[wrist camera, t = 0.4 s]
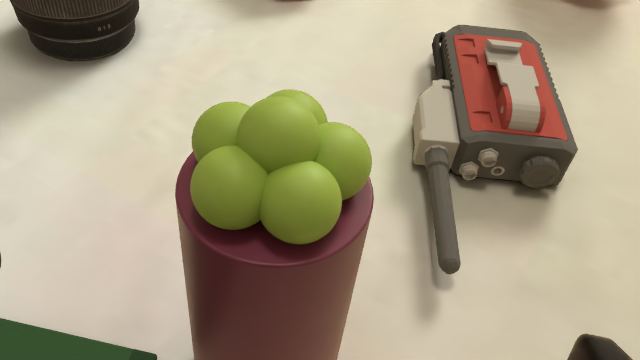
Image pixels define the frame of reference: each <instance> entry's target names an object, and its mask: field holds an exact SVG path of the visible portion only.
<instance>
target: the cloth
mask: <svg viewBox="0 0 640 360" xmlns="http://www.w3.org/2000/svg"><path fill="white" fill-rule="evenodd" d="M156 359H157V355H156V354H152V353H148V352H144V351H140V350H135V349H130V348H126V347H122V346H117V345H113V344H109V343H104V342H100V341H96V340H92V339H87V338H83V337H79V336H74V335H70V334H66V333H62V332H57V331H53V330H49V329H44V328H40V327H36V326H32V325H27V324H23V323H19V322H14V321H10V320H6V319H2V318H0V360H156Z"/></svg>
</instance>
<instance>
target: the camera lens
mask: <svg viewBox="0 0 640 360" xmlns="http://www.w3.org/2000/svg"><path fill="white" fill-rule="evenodd" d="M10 2H11V4H12V6H13V8H14V10H15V13H16V15H17V18H18V20H19V22H20V23H21V25H22V26H23V27H25V28H26V29H27V30H28V33H29V36H30V39H31V41H32V43H33V44H34V45H35V46H36V47H37V48H38V49H39V50H40V51H42V52H44V53H45V54H48V55H51V56H53V57H56V58H61V59H67V60H88V59H96V58H100V57H104V56H107V55H110V54H112V53H115V52H117V51H119V50H120V49H122V48H124V47H125V46H126V45H127V44H128V43H129V42H130V41H131V40H132V38H133V36H134V33H135V20H134V19H135V17H136V15H137V13H138V10H139V0H10Z"/></svg>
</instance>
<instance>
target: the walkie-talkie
mask: <svg viewBox="0 0 640 360" xmlns="http://www.w3.org/2000/svg"><path fill="white" fill-rule="evenodd" d="M439 43H441V46H440V45H439ZM432 49H433V56H434V63H435V70H436V79H435V80H432V84H431V87H429V88H428V89H427V90H426V91H424V92H423V93H422V94H421V95H420V96H419V98H418V100H417V104H416V108H415V112H414V116H413V129H414V141H415V148H414V152H413V158H414V163H415V164H418V165H425V168H426V173H427V174H428V175H429V182H430V191H431V200H432V209H433V218H434V227H435V236H436V245H437V254H438V263H439V266H440V268H441V269H442V270H443V271H444V272H445V273H447V274H453V273H455V272H457V271H458V270H459V268H460V257H459V249H458V242H457V235H456V227H455V220H454V213H453V205H452V198H451V191H450V183H449V176H448V173H449V170H450V168H451V170H452V171H453V172H455V173H456V174H457V175H462V177H463V178H464V179H466V180H472V179H475V178H476V177H486V178H496V179H505V180H515V181H521V182H522V183H523V184H524V185H527V186H529V187H531V188H540V187H544V186H548V185H550V184H555V185H558V184H559V182H560V181H561V180H562V178H563V176H564V174H565V172H566V170H567V169H568V167H569V165H570V163H571V161H572V160H573V158H574V156H575V154H576V152H577V150H578V149H577V146H576V143H575V141H574V138H573V135H572V132H571V130H570V127H569V124H568V121H567V118H566V116H565V113H564V110H563V107H562V104H561V102H560V100H559V99H558V94H557V93H556V89H555V88H554V83H553V82H552V78H551V77H550V75H551V74H550V72H549V71H548V70H549V68H548V67H547V66H546V65H547V63H546V62H545V58H544V57H543V53H542V52H541V50H542V49H541V48H540V44H539V43H538V42H536V41H535V40H534V39H533V38H532V37H531V36H529V35H528V34H527V33H526V32H522V31H515V30H506V29H497V28H487V27H478V26H469V25H458V26H455V27H453V28H451V29H450V30H449V31H447V32H446V33H444V32H441V33H438V34H436V35H435V37H434V39H433V43H432Z"/></svg>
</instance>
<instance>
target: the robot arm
mask: <svg viewBox="0 0 640 360" xmlns="http://www.w3.org/2000/svg"><path fill="white" fill-rule="evenodd" d="M0 267H1V254H0ZM567 360H632V359H631V358H630V357H629V356H628V355H627V354H626V353H625V352H624V351H623V350H622V349H621V348H620V347H619V346H618V345H617V344H616V343H615V342H614V341H612V340H611V339H609V338H605V337H600V336H595V335H589V334H583V335H580V336H579V337H578V339H577V340H576V342H575V344H574V346H573V349H572V351H571V353H570V355H569V357H568V359H567Z"/></svg>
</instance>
